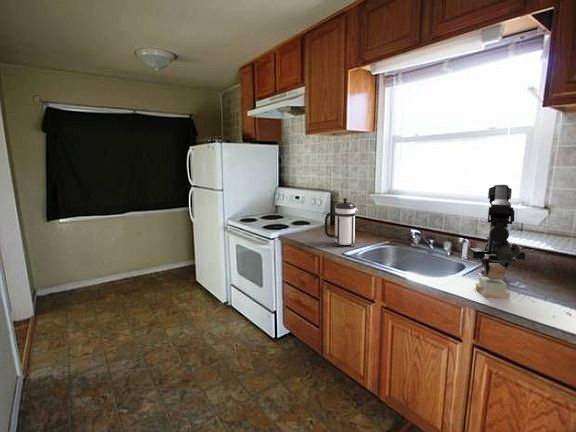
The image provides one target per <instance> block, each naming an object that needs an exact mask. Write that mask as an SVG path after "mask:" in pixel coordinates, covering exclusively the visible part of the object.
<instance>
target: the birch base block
mask: <svg viewBox="0 0 576 432" xmlns="http://www.w3.org/2000/svg"><path fill="white" fill-rule="evenodd" d="M475 290H476V291H477V292H479V294H481V295H482V296H483V297H484V298H486V299H508V300H509V299H510V291H508V290H507V289H506V292H502V291H487V290H485V289H484V288H483V287H482V286H481V285H480V284H479V282H478V283H477V282H476V283H475Z"/></svg>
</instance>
